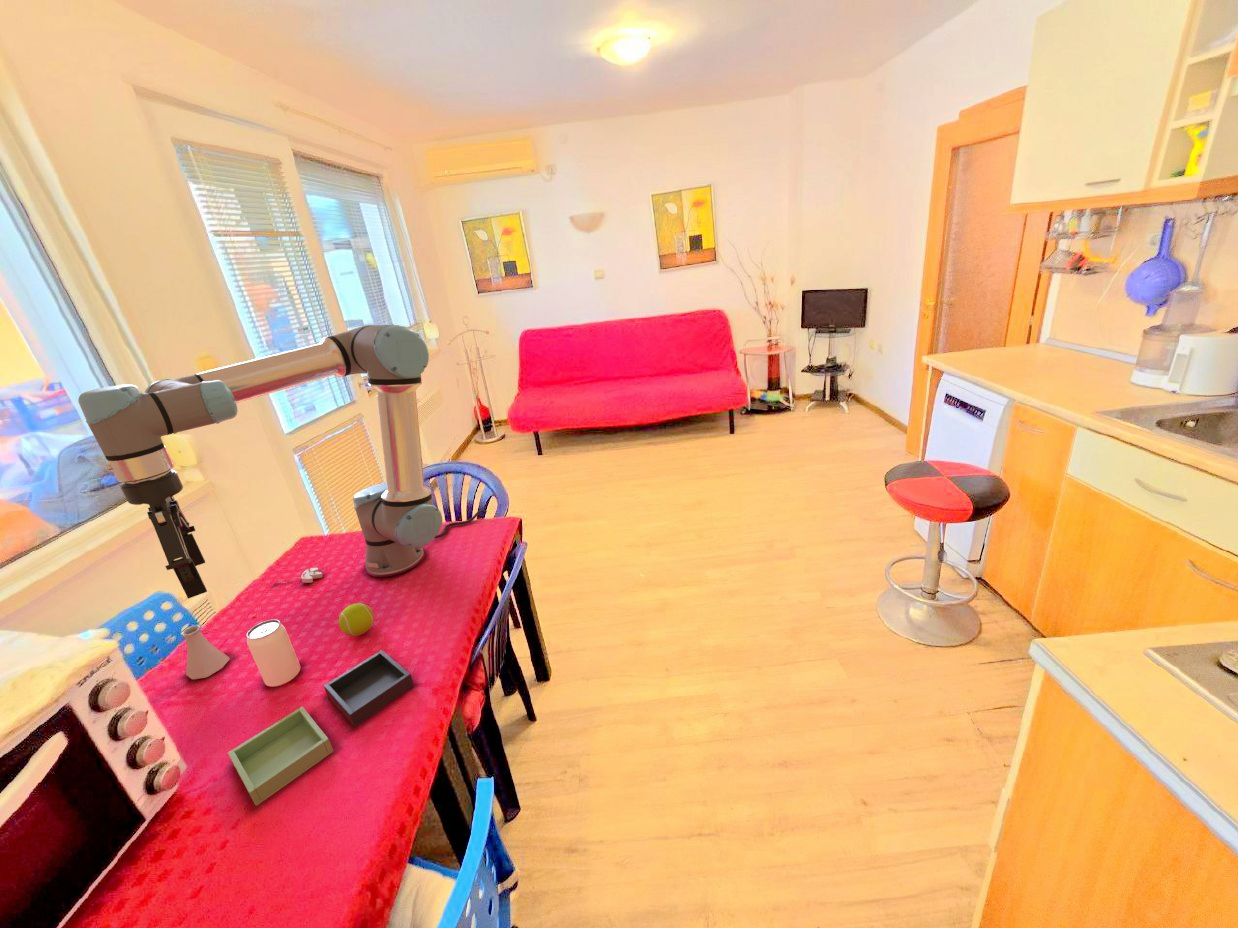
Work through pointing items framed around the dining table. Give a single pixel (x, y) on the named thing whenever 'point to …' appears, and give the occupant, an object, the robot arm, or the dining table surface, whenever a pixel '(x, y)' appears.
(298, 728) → the green tray
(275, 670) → the can
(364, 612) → the tennis ball
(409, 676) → the charcoal tray
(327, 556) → the dining table surface
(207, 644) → the flask
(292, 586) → the dining table surface
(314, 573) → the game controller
